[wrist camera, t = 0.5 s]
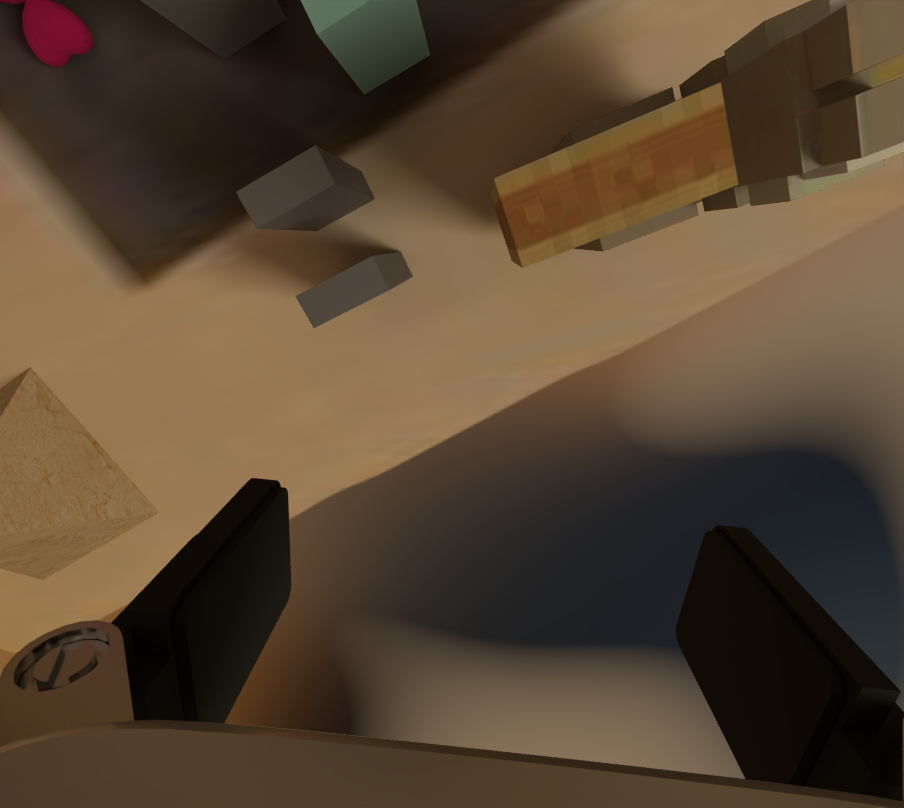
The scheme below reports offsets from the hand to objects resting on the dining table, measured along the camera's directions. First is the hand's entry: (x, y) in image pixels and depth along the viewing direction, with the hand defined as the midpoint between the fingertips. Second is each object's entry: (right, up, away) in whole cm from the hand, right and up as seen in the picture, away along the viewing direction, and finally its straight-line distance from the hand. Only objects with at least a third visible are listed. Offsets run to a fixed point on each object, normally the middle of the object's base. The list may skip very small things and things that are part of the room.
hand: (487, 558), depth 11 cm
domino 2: (-5, +26, +21) cm, 34 cm away
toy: (+10, +19, +23) cm, 31 cm away
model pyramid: (-39, -3, +33) cm, 52 cm away
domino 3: (-9, +18, +24) cm, 31 cm away
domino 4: (-6, +13, +25) cm, 29 cm away
